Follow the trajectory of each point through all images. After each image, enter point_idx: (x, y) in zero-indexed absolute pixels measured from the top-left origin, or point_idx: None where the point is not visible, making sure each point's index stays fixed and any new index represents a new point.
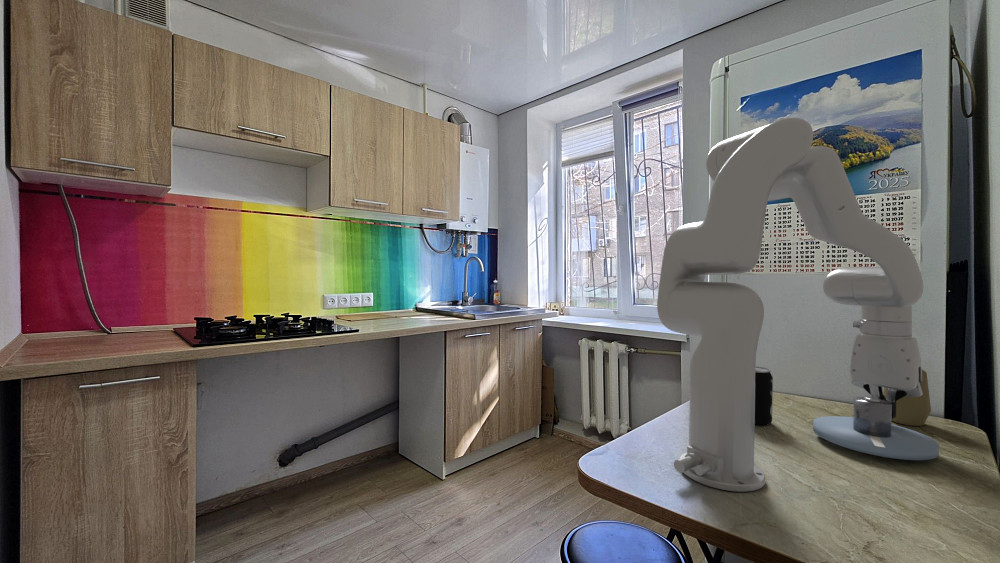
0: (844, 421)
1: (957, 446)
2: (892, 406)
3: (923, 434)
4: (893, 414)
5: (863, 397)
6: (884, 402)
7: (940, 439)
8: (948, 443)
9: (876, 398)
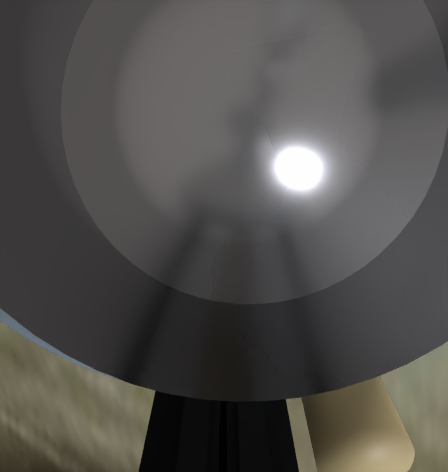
0: None
1: (6, 430)
2: (146, 470)
3: (18, 331)
4: (153, 406)
5: (433, 317)
6: (50, 217)
7: (75, 466)
8: (39, 441)
9: (185, 236)
